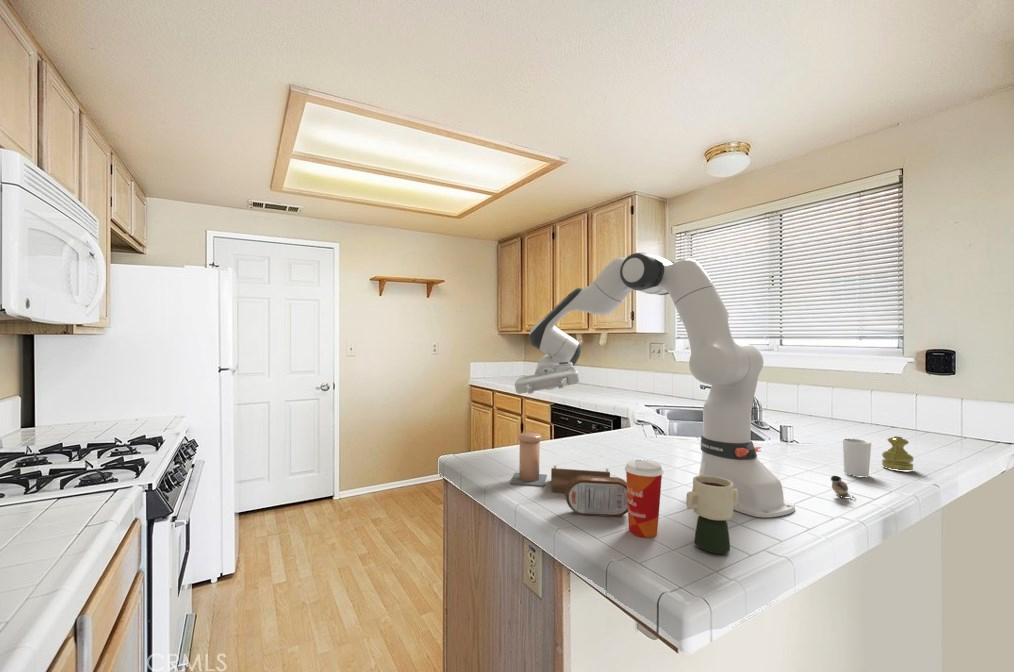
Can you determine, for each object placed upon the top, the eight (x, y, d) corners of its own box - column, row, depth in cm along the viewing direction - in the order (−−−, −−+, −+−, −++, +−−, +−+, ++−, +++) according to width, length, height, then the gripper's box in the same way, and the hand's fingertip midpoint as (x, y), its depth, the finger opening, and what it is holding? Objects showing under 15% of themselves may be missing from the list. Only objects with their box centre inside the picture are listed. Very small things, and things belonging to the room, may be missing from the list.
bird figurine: (841, 503, 111) (841, 479, 111) (821, 495, 116) (821, 473, 116) (857, 501, 112) (857, 478, 112) (836, 494, 117) (837, 471, 117)
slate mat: (515, 473, 130) (515, 472, 130) (546, 476, 129) (546, 474, 129) (510, 484, 121) (510, 482, 121) (543, 486, 120) (543, 485, 120)
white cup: (874, 479, 129) (875, 444, 129) (847, 476, 132) (847, 442, 131) (864, 472, 136) (865, 439, 136) (838, 470, 138) (839, 437, 138)
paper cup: (618, 524, 97) (619, 458, 97) (653, 523, 98) (654, 458, 97) (631, 541, 89) (632, 470, 89) (669, 540, 90) (670, 469, 90)
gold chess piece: (910, 468, 141) (911, 436, 140) (916, 474, 134) (916, 440, 134) (880, 464, 145) (880, 433, 144) (883, 470, 138) (884, 437, 138)
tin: (631, 513, 103) (632, 476, 103) (634, 519, 100) (634, 481, 100) (564, 510, 104) (565, 473, 104) (565, 515, 101) (565, 478, 101)
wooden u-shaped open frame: (553, 479, 125) (554, 458, 125) (607, 483, 123) (608, 461, 123) (551, 492, 116) (551, 468, 116) (609, 496, 113) (610, 472, 113)
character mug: (724, 538, 91) (725, 473, 91) (750, 555, 84) (751, 485, 84) (675, 542, 89) (676, 476, 89) (697, 560, 82) (698, 489, 82)
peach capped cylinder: (545, 480, 123) (545, 436, 123) (524, 483, 121) (524, 438, 121) (533, 473, 129) (534, 431, 129) (513, 476, 127) (514, 433, 126)
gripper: (515, 372, 151) (509, 384, 137) (576, 360, 147) (576, 372, 134) (519, 390, 152) (514, 404, 138) (580, 379, 148) (580, 392, 135)
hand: (545, 388), depth 136 cm, fingers open, 8 cm apart
